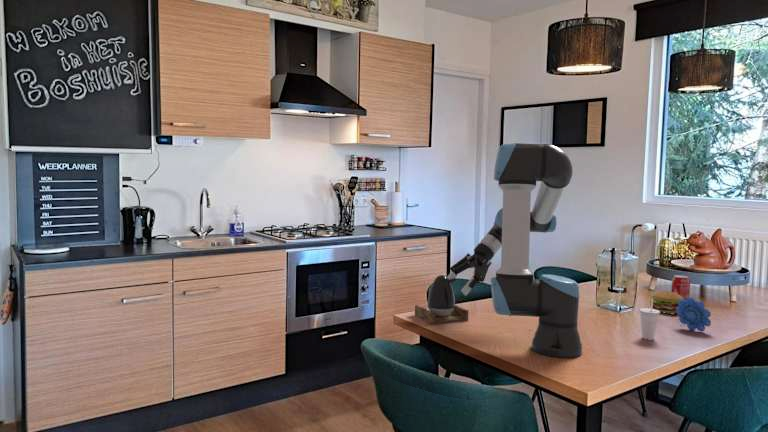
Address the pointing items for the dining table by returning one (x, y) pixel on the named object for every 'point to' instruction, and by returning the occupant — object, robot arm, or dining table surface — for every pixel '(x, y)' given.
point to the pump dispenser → (441, 296)
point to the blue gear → (693, 314)
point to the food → (666, 301)
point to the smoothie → (649, 321)
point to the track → (430, 317)
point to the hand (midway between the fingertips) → (453, 289)
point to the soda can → (681, 286)
